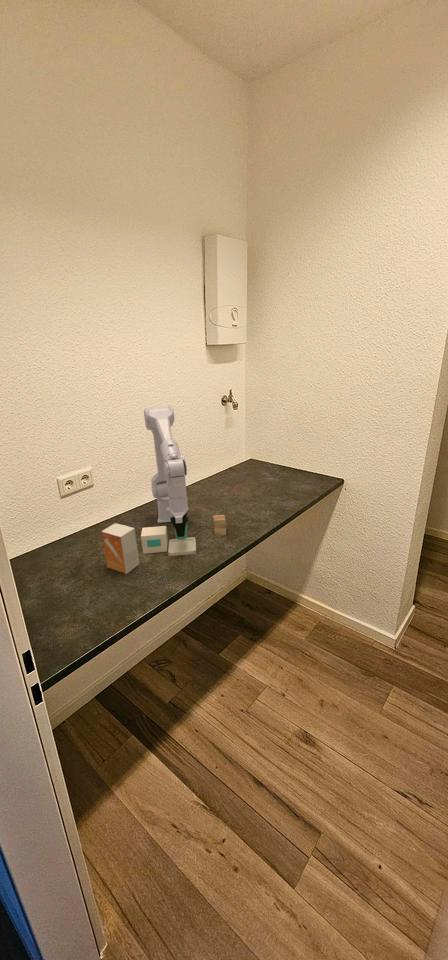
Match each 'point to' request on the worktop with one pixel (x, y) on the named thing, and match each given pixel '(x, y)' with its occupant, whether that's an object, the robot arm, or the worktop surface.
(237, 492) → the worktop surface
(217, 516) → the oak block
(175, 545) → the tray
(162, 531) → the block
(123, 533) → the small box
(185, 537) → the cylinder
